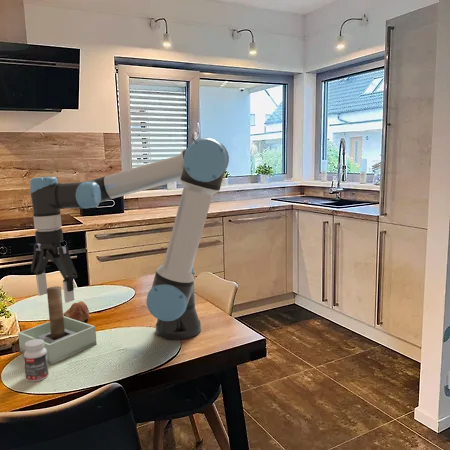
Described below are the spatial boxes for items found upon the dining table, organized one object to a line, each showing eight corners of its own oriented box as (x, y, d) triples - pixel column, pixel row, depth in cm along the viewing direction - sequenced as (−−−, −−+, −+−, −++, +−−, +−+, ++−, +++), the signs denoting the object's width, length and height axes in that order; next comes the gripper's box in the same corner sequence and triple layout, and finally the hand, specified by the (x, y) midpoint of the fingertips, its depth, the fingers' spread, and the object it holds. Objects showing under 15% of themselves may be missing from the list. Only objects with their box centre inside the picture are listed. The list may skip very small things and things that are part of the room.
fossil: (68, 322, 144) (66, 293, 149) (53, 328, 148) (52, 301, 152) (98, 323, 154) (96, 297, 159) (83, 330, 158) (82, 304, 162)
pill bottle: (25, 384, 112) (21, 348, 110) (26, 374, 117) (22, 340, 115) (49, 379, 114) (46, 344, 112) (48, 370, 119) (45, 336, 117)
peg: (68, 343, 133) (63, 287, 130) (56, 348, 130) (51, 291, 127) (60, 340, 135) (55, 285, 132) (49, 344, 132) (44, 289, 129)
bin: (96, 344, 135) (95, 326, 134) (50, 364, 122) (49, 345, 121) (65, 333, 144) (64, 316, 143) (20, 351, 131) (18, 332, 130)
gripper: (85, 229, 123) (92, 300, 126) (36, 224, 137) (43, 288, 140) (63, 234, 117) (70, 308, 120) (13, 228, 131) (21, 295, 134)
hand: (56, 297), depth 130 cm, fingers open, 13 cm apart
